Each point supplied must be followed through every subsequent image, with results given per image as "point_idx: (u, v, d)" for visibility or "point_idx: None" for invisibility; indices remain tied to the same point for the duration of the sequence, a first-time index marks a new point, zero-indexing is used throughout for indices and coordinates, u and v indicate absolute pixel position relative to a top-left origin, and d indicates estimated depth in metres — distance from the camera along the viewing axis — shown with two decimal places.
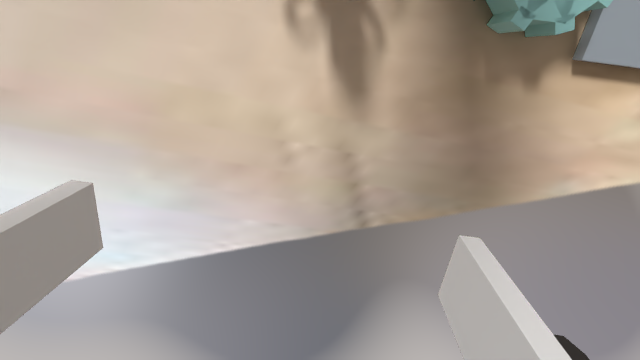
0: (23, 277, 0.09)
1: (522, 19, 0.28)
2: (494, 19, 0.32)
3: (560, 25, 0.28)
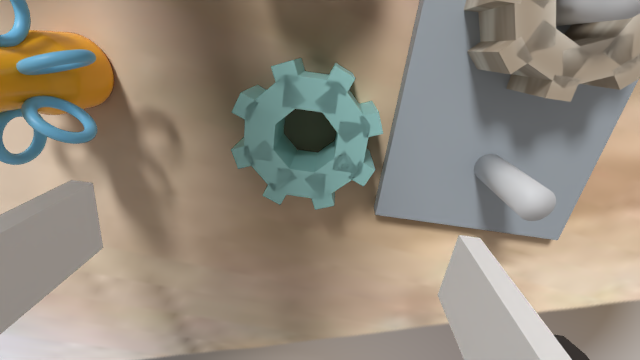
0: (23, 277, 0.09)
1: (274, 194, 0.25)
2: None
3: (318, 201, 0.25)
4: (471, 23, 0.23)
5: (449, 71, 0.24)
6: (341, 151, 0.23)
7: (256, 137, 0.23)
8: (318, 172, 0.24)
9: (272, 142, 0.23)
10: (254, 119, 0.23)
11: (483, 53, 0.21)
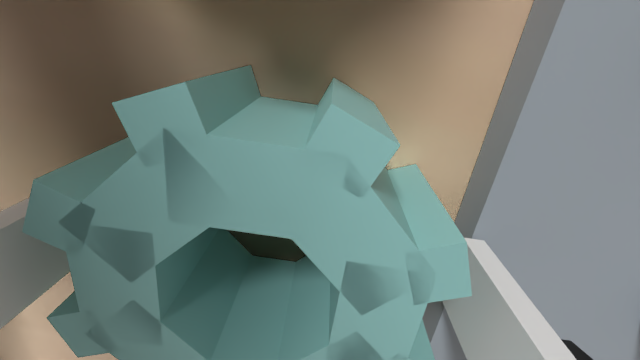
0: (14, 279, 0.09)
1: None
2: None
3: None
4: None
5: (636, 105, 0.09)
6: (348, 331, 0.08)
7: (109, 293, 0.08)
8: None
9: (155, 306, 0.08)
10: (95, 249, 0.08)
11: None
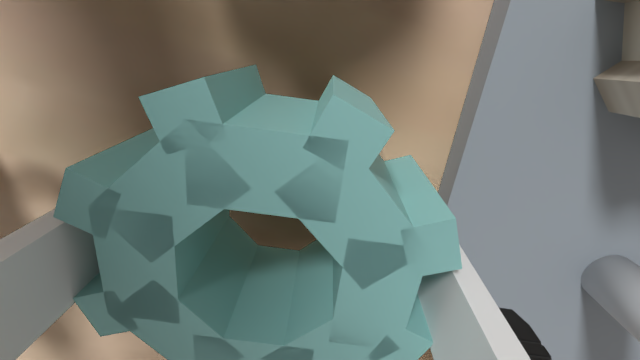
0: (77, 265, 0.10)
1: None
2: None
3: None
4: (607, 25, 0.12)
5: (555, 114, 0.13)
6: (351, 305, 0.09)
7: (132, 273, 0.09)
8: (294, 345, 0.10)
9: (173, 285, 0.09)
10: (120, 232, 0.09)
11: None
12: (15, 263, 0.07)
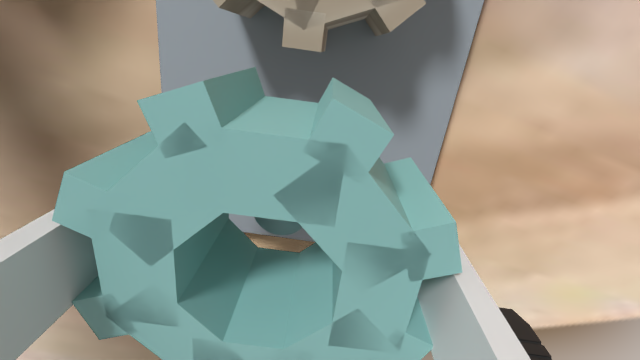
0: (77, 265, 0.10)
1: None
2: None
3: None
4: None
5: (213, 21, 0.17)
6: (350, 309, 0.09)
7: (131, 277, 0.09)
8: (294, 349, 0.10)
9: (172, 288, 0.09)
10: (119, 235, 0.09)
11: None
12: (15, 263, 0.07)
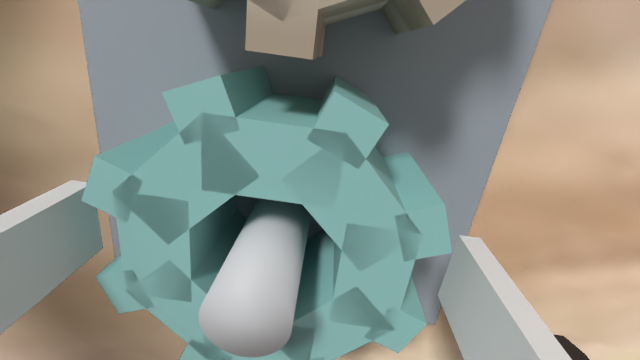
0: (23, 277, 0.09)
1: None
2: None
3: None
4: None
5: (161, 13, 0.12)
6: (349, 286, 0.10)
7: (150, 254, 0.10)
8: (297, 325, 0.11)
9: (187, 265, 0.10)
10: (140, 215, 0.09)
11: None
12: None
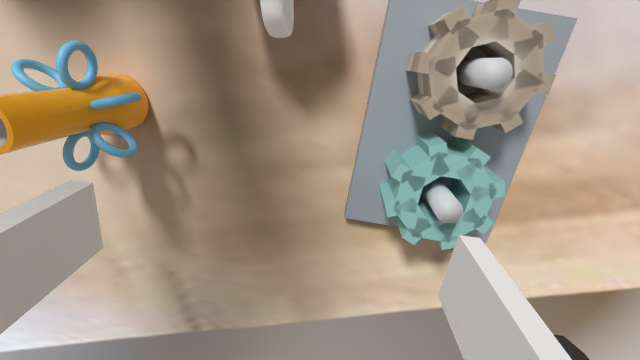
0: (23, 277, 0.09)
1: (412, 237, 0.32)
2: (398, 216, 0.36)
3: (445, 243, 0.32)
4: (411, 79, 0.32)
5: (397, 112, 0.33)
6: (470, 207, 0.31)
7: (407, 195, 0.31)
8: None
9: (418, 199, 0.31)
10: (407, 182, 0.30)
11: (416, 103, 0.30)
12: None
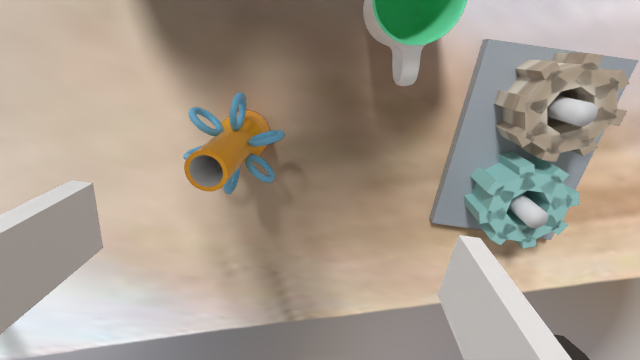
0: (23, 277, 0.09)
1: (499, 239, 0.40)
2: None
3: (526, 243, 0.40)
4: (498, 110, 0.39)
5: (484, 136, 0.40)
6: (549, 214, 0.38)
7: (498, 205, 0.38)
8: None
9: (507, 209, 0.38)
10: (499, 195, 0.37)
11: (506, 132, 0.37)
12: None
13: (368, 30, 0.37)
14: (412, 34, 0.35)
